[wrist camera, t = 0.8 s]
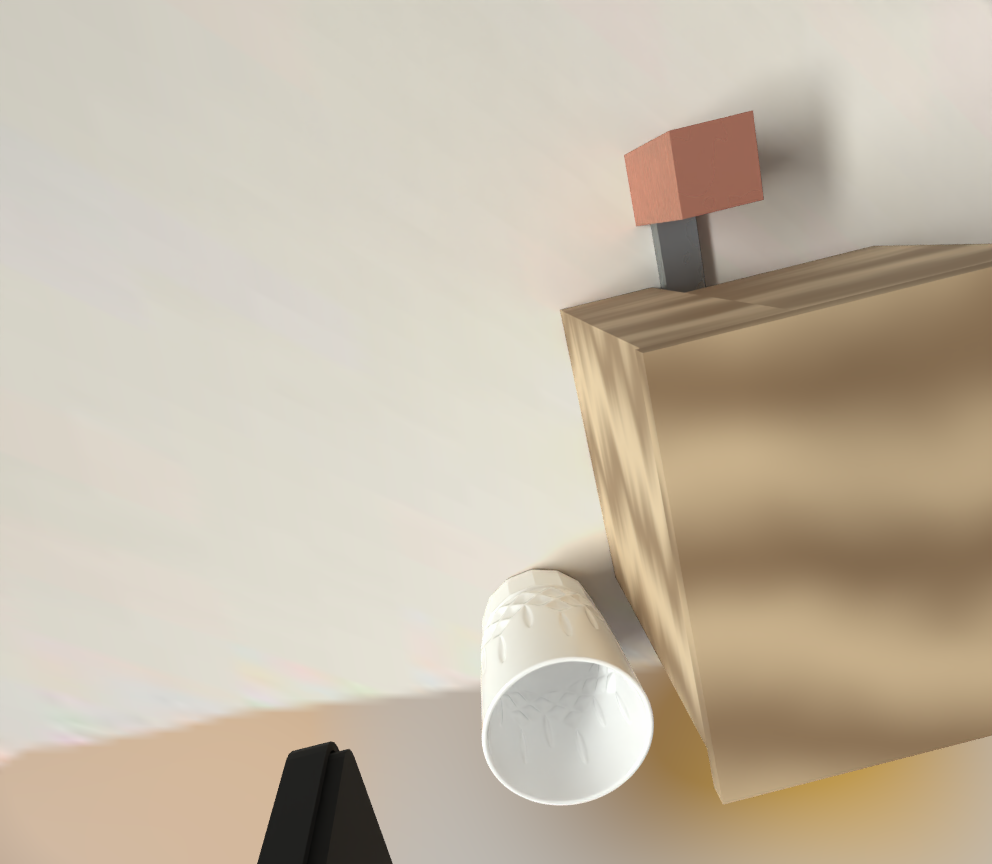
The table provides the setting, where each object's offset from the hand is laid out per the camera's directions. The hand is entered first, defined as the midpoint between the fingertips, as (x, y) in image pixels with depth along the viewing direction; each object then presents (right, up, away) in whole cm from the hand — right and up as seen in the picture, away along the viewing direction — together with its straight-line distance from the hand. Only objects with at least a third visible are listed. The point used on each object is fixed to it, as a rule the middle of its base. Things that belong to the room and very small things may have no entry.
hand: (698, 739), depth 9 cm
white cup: (0, -7, +31) cm, 32 cm away
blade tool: (+8, +9, +28) cm, 30 cm away
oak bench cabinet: (+9, +5, +29) cm, 31 cm away
